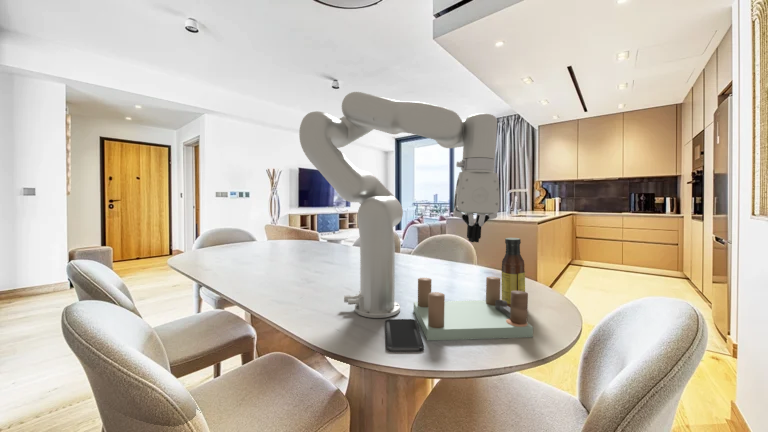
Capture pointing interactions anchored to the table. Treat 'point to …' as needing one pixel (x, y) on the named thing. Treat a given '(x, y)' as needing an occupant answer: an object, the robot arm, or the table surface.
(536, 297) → the table surface
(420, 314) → the stool seat
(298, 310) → the table surface
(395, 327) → the phone
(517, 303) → the folding leg
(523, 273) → the sauce bottle
